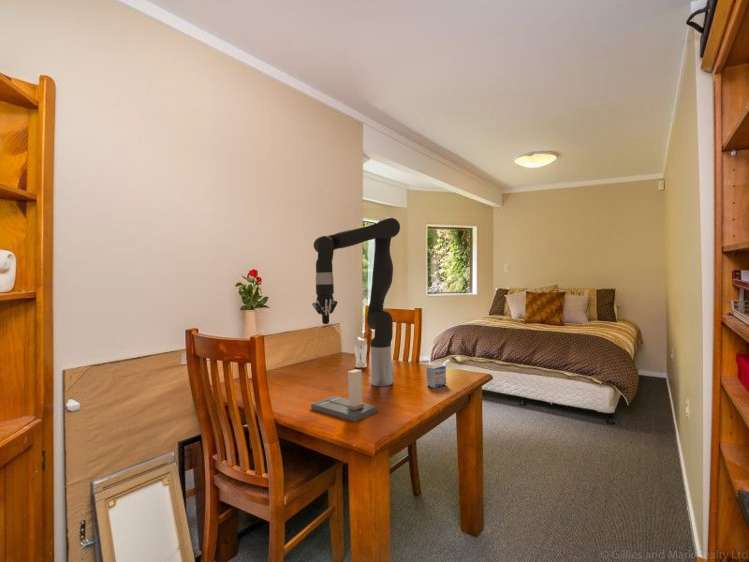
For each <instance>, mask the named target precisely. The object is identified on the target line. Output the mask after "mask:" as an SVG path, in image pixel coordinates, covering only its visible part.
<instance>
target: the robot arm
mask: <svg viewBox="0 0 749 562" xmlns="http://www.w3.org/2000/svg"><path fill="white" fill-rule="evenodd" d="M400 230H401V225H400V222H399V221H398V219H396V218H394V217H385V218H383V219H380V220H379V221H378V222H376V223H373V224H370V225H366V226H362V227H357V228H352V229H348V230H347V229H346V230H343V231H339V232H337V233H334V234H330V235H322V236H319V237H317V238H316V239H315V240H314V242H313V249H314V251H315V252H317V259H316V261H315V294H316V300H315V302H312V307H314V309H315V311H316V313H317V314H318V315H321V322H322V325H329V324H330V314H333V313H334V311H335V308H336V307H337V305H338V301H337V300H335V298H334V293H335V291H334V288H335V287H334V272H333V271H334V269H333V259H334V253H335V252H334V251H336V250H338V249H346V248H348V247H349V248H350V247H352V246H356V245H359V244H361V243H366V242H368V241H370V240H374V242H375V243H374V245H375V247H374V255H373V256H374V257H373V266H372V276H371V279H372V280H371V287H370V288H371V289H370V300H369V305H368V310H367V314H366V323H367V326H368V327H369V328H370V329H371V330H372V331H373V330H374V337H373V338H372V339H370V342H369V343H370V345H369V346H370V371H371V372H370V373H371V374H370V375H371V377H370V378H371V380H370V381H371V385H372V386H374V387H387V386H390V385H392V384H393V383H394V375H393V374H394V372H393V371H394V369H393V368H394V367H393V366H394V365H393V363H394V362H393V361H392V340H393V336H394V335H393V334H394V332H393V329H394V328H393V327H394V324H393V323H394V320H393V316H392V314H391V313H390V312H389V311H386V310H384V306H385V299H386V296H387V295H388V292H389V290H390V288H391V286H392V283H393V277H394V276H393V275H394V263H393V260H392V256H391V240H392V238H394V237H396V236H397V235H398V234H399V233H400Z"/></svg>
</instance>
